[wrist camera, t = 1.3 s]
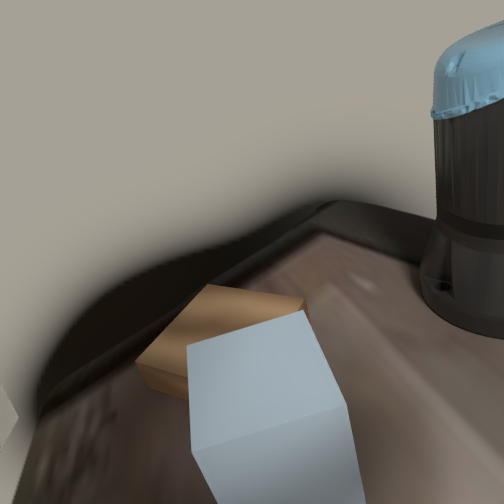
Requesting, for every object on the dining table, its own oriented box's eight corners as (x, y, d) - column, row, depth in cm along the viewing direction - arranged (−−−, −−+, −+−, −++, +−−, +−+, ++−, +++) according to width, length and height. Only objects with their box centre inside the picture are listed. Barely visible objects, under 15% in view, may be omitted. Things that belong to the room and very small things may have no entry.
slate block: (230, 448, 33) (186, 345, 28) (328, 417, 34) (303, 309, 28) (246, 560, 27) (191, 452, 21) (369, 520, 27) (346, 403, 21)
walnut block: (217, 311, 50) (207, 284, 48) (312, 329, 43) (305, 298, 41) (150, 390, 42) (134, 361, 40) (254, 427, 35) (242, 394, 33)
